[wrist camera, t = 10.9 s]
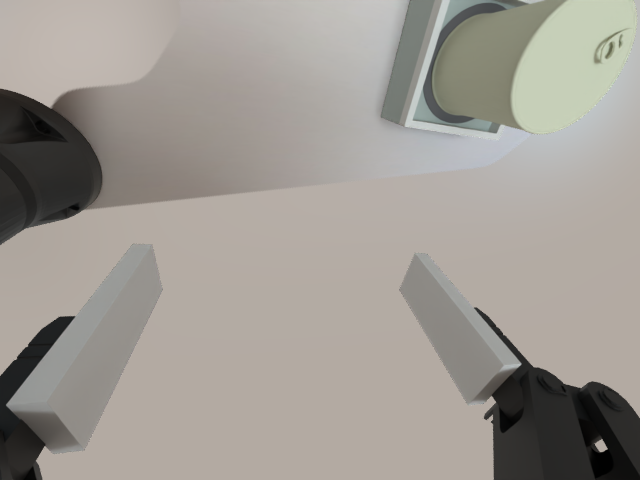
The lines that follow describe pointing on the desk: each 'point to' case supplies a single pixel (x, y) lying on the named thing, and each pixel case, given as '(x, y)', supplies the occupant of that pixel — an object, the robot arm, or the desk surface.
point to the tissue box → (418, 60)
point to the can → (534, 62)
